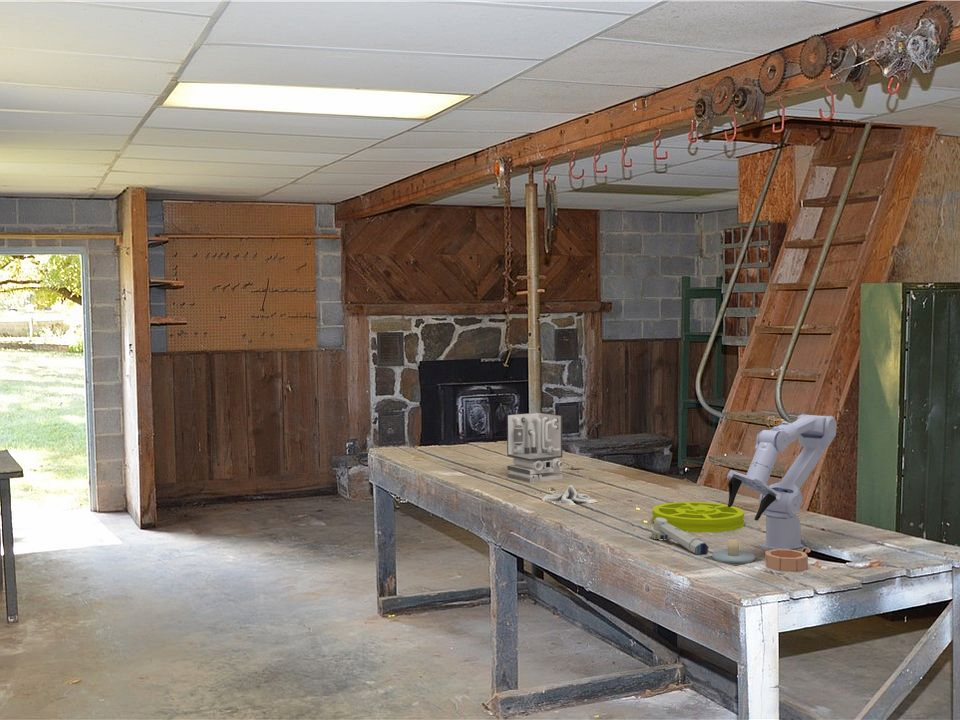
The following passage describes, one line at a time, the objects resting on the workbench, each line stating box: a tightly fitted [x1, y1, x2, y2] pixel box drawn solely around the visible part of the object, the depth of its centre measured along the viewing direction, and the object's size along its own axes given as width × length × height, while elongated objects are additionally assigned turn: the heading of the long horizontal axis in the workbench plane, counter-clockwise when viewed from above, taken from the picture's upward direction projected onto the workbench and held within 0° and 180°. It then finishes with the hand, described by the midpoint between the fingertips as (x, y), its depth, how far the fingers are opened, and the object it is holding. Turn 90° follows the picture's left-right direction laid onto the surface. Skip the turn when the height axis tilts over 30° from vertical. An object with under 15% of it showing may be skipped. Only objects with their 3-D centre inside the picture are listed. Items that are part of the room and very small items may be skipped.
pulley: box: [652, 501, 745, 533], centre depth 306 cm, size 28×28×5 cm
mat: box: [703, 555, 764, 567], centre depth 259 cm, size 11×11×1 cm
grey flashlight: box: [650, 517, 709, 556], centre depth 276 cm, size 5×7×25 cm
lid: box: [711, 538, 756, 565], centre depth 259 cm, size 11×11×5 cm
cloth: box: [541, 484, 598, 506], centre depth 341 cm, size 22×19×6 cm
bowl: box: [764, 549, 809, 572], centre depth 251 cm, size 10×10×4 cm
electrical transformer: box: [506, 412, 563, 484], centre depth 389 cm, size 16×19×25 cm
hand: (743, 512), depth 259 cm, fingers open, 7 cm apart
